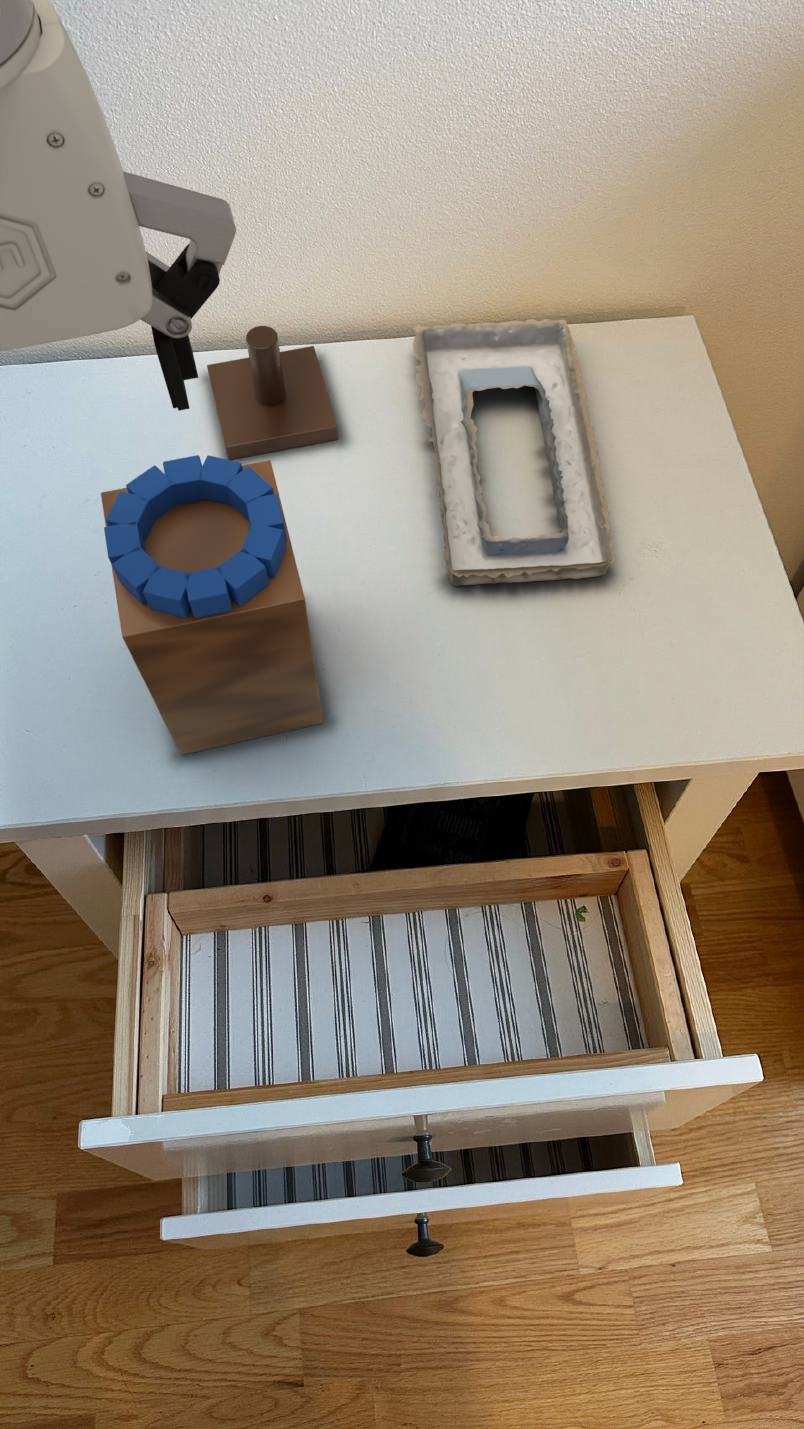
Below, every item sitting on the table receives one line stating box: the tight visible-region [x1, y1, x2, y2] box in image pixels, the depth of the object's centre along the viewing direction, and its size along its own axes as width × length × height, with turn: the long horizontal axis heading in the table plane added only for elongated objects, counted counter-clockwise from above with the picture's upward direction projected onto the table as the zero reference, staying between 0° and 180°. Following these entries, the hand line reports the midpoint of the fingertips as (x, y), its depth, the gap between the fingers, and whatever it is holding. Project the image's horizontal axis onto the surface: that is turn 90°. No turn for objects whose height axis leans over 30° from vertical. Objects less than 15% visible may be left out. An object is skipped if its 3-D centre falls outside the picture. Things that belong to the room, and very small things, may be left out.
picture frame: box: [412, 318, 616, 586], centre depth 77 cm, size 13×25×3 cm, turn 6°
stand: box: [100, 459, 324, 756], centre depth 62 cm, size 10×10×16 cm
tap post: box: [206, 325, 339, 461], centre depth 77 cm, size 9×9×8 cm
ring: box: [103, 454, 287, 618], centre depth 54 cm, size 10×10×2 cm
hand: (72, 407), depth 44 cm, fingers open, 9 cm apart
